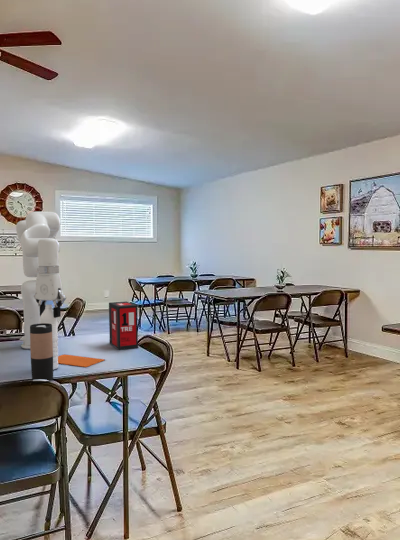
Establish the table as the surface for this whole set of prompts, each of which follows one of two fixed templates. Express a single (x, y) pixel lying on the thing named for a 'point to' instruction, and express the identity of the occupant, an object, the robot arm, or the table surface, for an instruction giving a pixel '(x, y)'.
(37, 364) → the travel mug
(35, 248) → the robot arm
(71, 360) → the cloth
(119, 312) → the cleaning product box
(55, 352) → the water bottle
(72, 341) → the table surface
